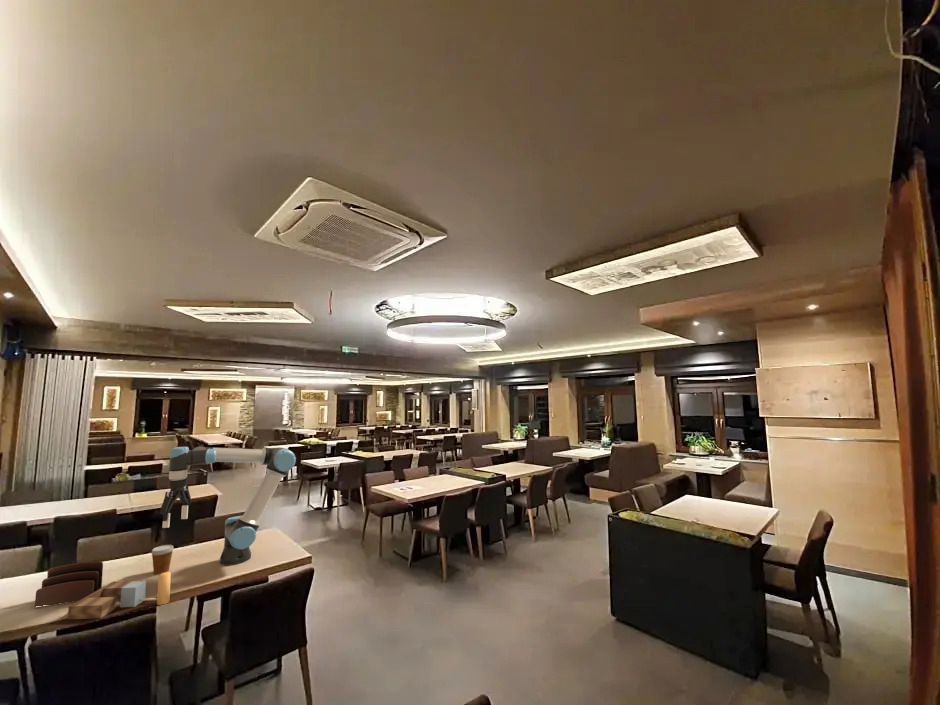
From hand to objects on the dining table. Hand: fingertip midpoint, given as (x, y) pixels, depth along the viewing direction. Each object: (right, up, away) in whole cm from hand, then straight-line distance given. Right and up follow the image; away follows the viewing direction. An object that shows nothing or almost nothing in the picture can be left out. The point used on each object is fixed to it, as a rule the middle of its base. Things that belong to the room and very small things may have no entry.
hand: (175, 523), depth 200 cm
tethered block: (+2, -27, -21) cm, 34 cm away
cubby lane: (-14, -27, -22) cm, 37 cm away
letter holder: (-37, -28, -16) cm, 49 cm away
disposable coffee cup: (-15, -30, +11) cm, 36 cm away
